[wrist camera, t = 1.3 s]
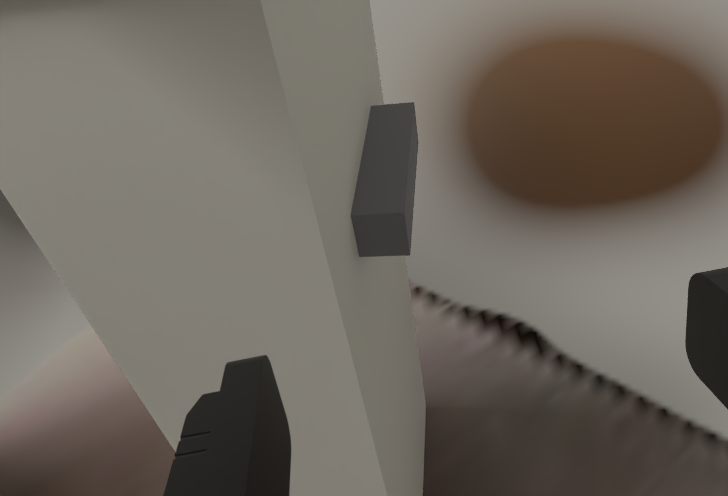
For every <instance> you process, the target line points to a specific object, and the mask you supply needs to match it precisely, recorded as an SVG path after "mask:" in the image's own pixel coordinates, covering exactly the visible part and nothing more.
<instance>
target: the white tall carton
mask: <svg viewBox="0 0 728 496" xmlns="http://www.w3.org/2000/svg"><path fill="white" fill-rule="evenodd" d="M417 152H418V135H417V126H416V116H415V107H414V103H413V102H412V103H400V104H387V105H384V101H383V94H382V87H381V80H380V73H379V66H378V59H377V52H376V44H375V37H374V30H373V24H372V16H371V9H370V1H369V0H0V189H1V191H2V192H3V194H4V195H5V197H6V198H7V199H8V201H9V203H10V204H11V206H12V207H13V209H14V210H15V212H16V213H17V215H18V216H19V218H20V219H21V221H22V222H23V224H24V225H25V227H26V228H27V230H28V231H29V233H30V234H31V236H32V237H33V239H34V240H35V242H36V243H37V245H38V246H39V248H40V249H41V250H42V252H43V254H44V255H45V257H46V258H47V260H48V261H49V263H50V264H51V266H52V267H53V269H54V270H55V272H56V273H57V275H58V276H59V278H60V279H61V281H62V282H63V284H64V285H65V287H66V288H67V290H68V291H69V292H70V294H71V296H72V297H73V299H74V300H75V302H76V303H77V305H78V306H79V308H80V309H81V311H82V312H83V314H84V315H85V316H86V318H87V320H88V321H89V323H90V324H91V326H92V327H93V329H94V330H95V332H96V333H97V335H98V336H99V338H100V339H101V341H102V342H103V344H104V345H105V347H106V348H107V350H108V351H109V353H110V354H111V356H112V357H113V359H114V360H115V362H116V363H117V365H118V366H119V368H120V369H121V371H122V372H123V374H124V375H125V377H126V378H127V380H128V381H129V383H130V384H131V386H132V387H133V389H134V390H135V392H136V393H137V395H138V396H139V398H140V399H141V401H142V402H143V404H144V405H145V407H146V408H147V410H148V411H149V413H150V414H151V416H152V417H153V419H154V420H155V422H156V423H157V425H158V426H159V428H160V429H161V431H162V432H163V434H164V435H165V437H166V438H167V440H168V441H169V443H170V444H171V446H172V447H173V449H174V450H175V452H176V450H177V446H178V443H179V441H181V438H180V436H181V432H182V429H183V425H184V421H185V418H186V415H187V414H188V412H189V411H190V410H191V408H192V407H193V406H194V405H195V403H196V402H197V401H198V400H199V398H200V397H201V396H202V394H206V393H212V392H217V391H220V387H221V383H222V378H223V374H224V369H225V366H226V363H227V362H231V361H236V360H241V359H247V358H252V357H257V356H262V355H267V357H268V358H269V360H270V363H271V366H272V369H273V373H274V376H275V379H276V383H277V386H278V390H279V393H280V396H281V400H282V403H283V406H284V410H285V413H286V416H287V420H288V425H289V430H290V437H291V469H290V489H289V496H423V478H424V449H425V421H426V401H425V394H424V387H423V380H422V372H421V365H420V358H419V351H418V344H417V337H416V330H415V323H414V315H413V308H412V301H411V294H410V287H409V280H408V273H407V265H406V258H405V255H410V248H411V234H412V221H413V207H414V192H415V179H416V165H417Z"/></svg>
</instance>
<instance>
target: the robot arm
mask: <svg viewBox="0 0 728 496" xmlns="http://www.w3.org/2000/svg"><path fill="white" fill-rule="evenodd" d="M687 307H688V308H687V324H686V352H687V356H688V359H689V362H690V364H691V366H692V368H693V370H694V372H695V373H696V375H697V376H698V377H699V378H700V379H701V381H702V382H703V383H704V384H705V385H706V386H707V387H708V388H709V389H710V390H711V391H712V392H713V394H714V395H715V396H716V397H717V398H718V399H719V400H720V401H721V402H722V403H723V404H724V406H725V407H726V408H727V409H728V267H727V268H722V269H717V270H711V271H706V272H701V273H696V274H694V275H693V276H692V277H691V279H690V282H689V288H688V306H687ZM180 438H181V441H179V443H178V446H177V450H176V453H175V460H173V464H172V467H171V471H170V474H169V478H168V481H167V485H166V488H165V492H164V495H163V496H289V489H290V469H291V437H290V430H289V425H288V420H287V416H286V413H285V410H284V406H283V403H282V400H281V396H280V393H279V390H278V386H277V383H276V379H275V376H274V373H273V369H272V366H271V363H270V360H269V358H268V357H267V355H262V356H257V357H252V358H247V359H241V360H236V361H231V362H227V363H226V366H225V369H224V374H223V378H222V383H221V387H220V391H217V392H212V393H206V394H202V396H201V397H200V398H199V400H198V401H197V402H196V403H195V405H194V406H193V407H192V408H191V410H190V411H189V412H188V414H187V415H186V418H185V421H184V425H183V429H182V432H181V436H180Z"/></svg>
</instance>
